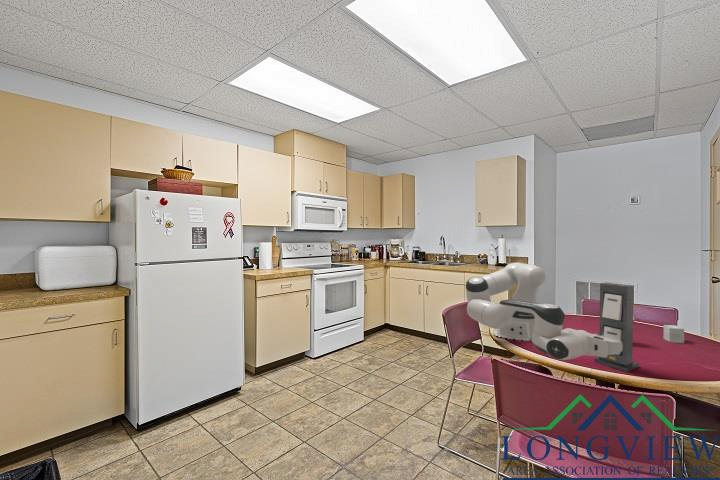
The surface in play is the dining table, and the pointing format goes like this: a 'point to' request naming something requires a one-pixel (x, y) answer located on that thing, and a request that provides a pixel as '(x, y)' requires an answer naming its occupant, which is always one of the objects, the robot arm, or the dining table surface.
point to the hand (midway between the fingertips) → (600, 336)
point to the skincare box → (673, 333)
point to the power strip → (619, 326)
